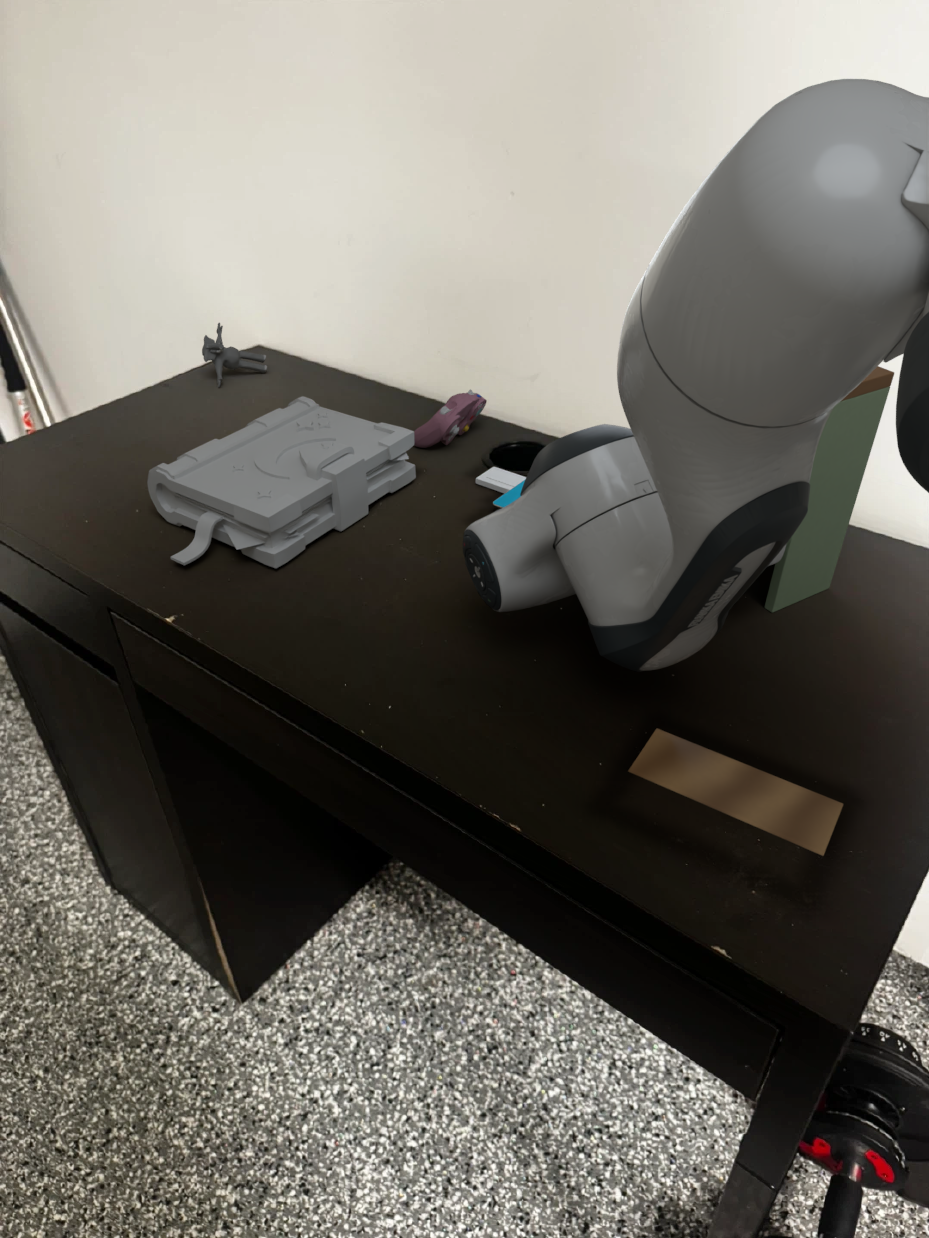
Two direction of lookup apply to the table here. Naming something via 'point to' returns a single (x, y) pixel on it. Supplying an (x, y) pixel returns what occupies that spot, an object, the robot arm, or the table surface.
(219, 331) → the grey sculpted figure
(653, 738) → the cork mat
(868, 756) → the table surface
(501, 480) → the blue and white device
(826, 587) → the cupboard
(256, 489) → the book
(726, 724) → the table surface
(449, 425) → the video game controller
